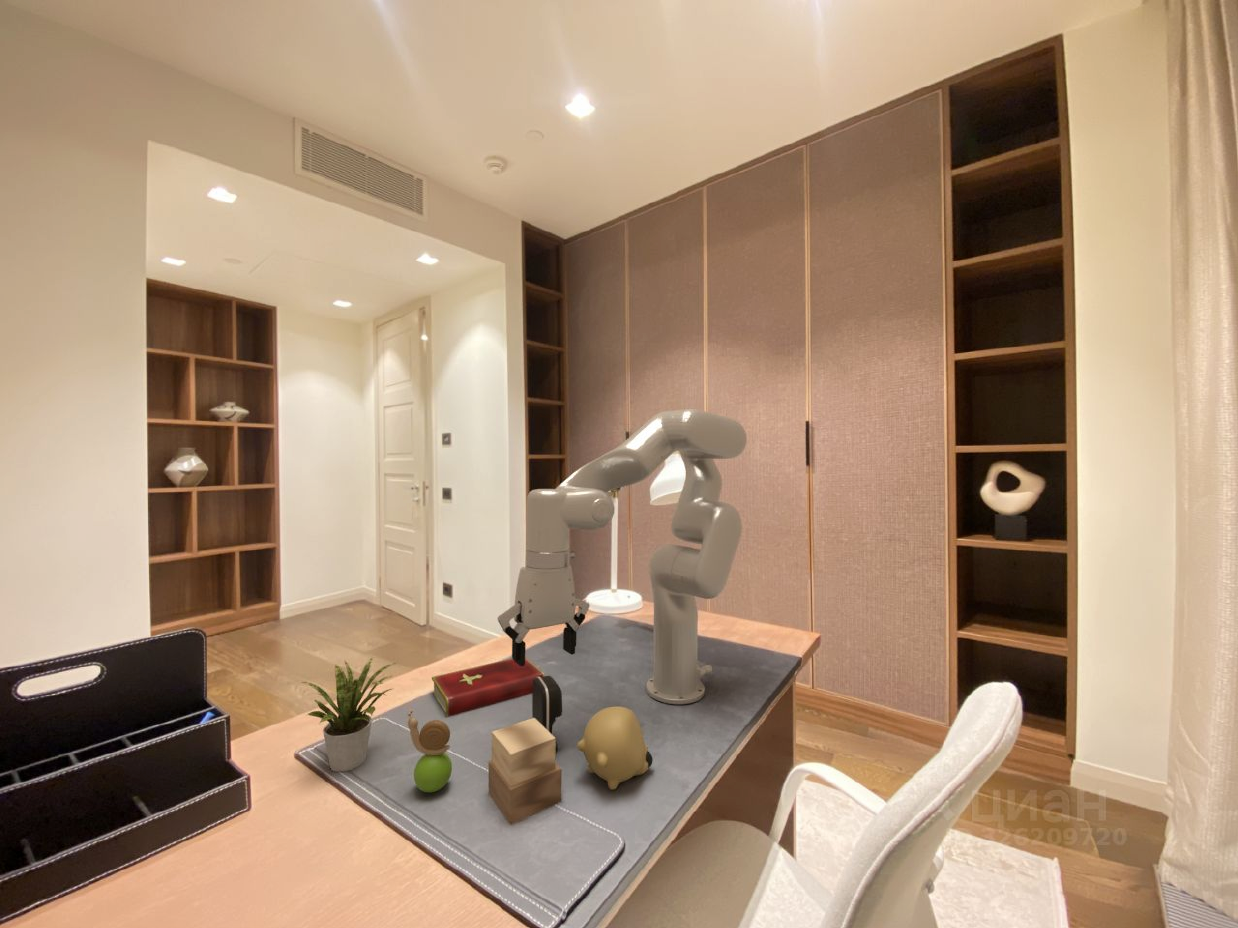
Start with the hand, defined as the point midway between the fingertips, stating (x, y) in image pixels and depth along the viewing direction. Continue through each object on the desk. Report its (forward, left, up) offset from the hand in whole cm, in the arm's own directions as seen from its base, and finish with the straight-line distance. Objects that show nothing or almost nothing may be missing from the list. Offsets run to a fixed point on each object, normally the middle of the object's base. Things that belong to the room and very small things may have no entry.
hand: (544, 657), depth 86 cm
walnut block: (+8, +10, -16) cm, 20 cm away
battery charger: (-1, 0, -16) cm, 16 cm away
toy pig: (-6, +14, -16) cm, 22 cm away
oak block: (+9, +10, -11) cm, 17 cm away
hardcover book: (0, -25, -16) cm, 30 cm away
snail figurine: (+19, 0, -16) cm, 25 cm away
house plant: (+27, -14, -16) cm, 35 cm away
